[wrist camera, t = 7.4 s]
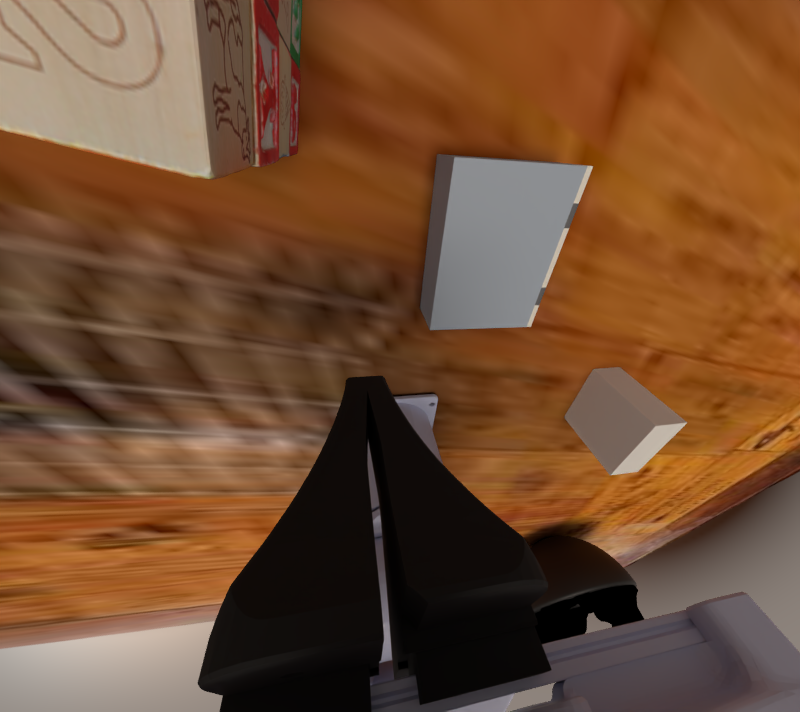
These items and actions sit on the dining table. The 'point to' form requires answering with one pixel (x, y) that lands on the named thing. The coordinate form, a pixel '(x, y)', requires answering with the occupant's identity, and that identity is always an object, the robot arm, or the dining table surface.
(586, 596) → the coal bowl
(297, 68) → the stack of blocks
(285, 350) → the dining table surface
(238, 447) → the dining table surface
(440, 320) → the gray rectangular block
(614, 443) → the light grey square block
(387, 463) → the robot arm
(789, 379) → the dining table surface
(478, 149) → the dining table surface
